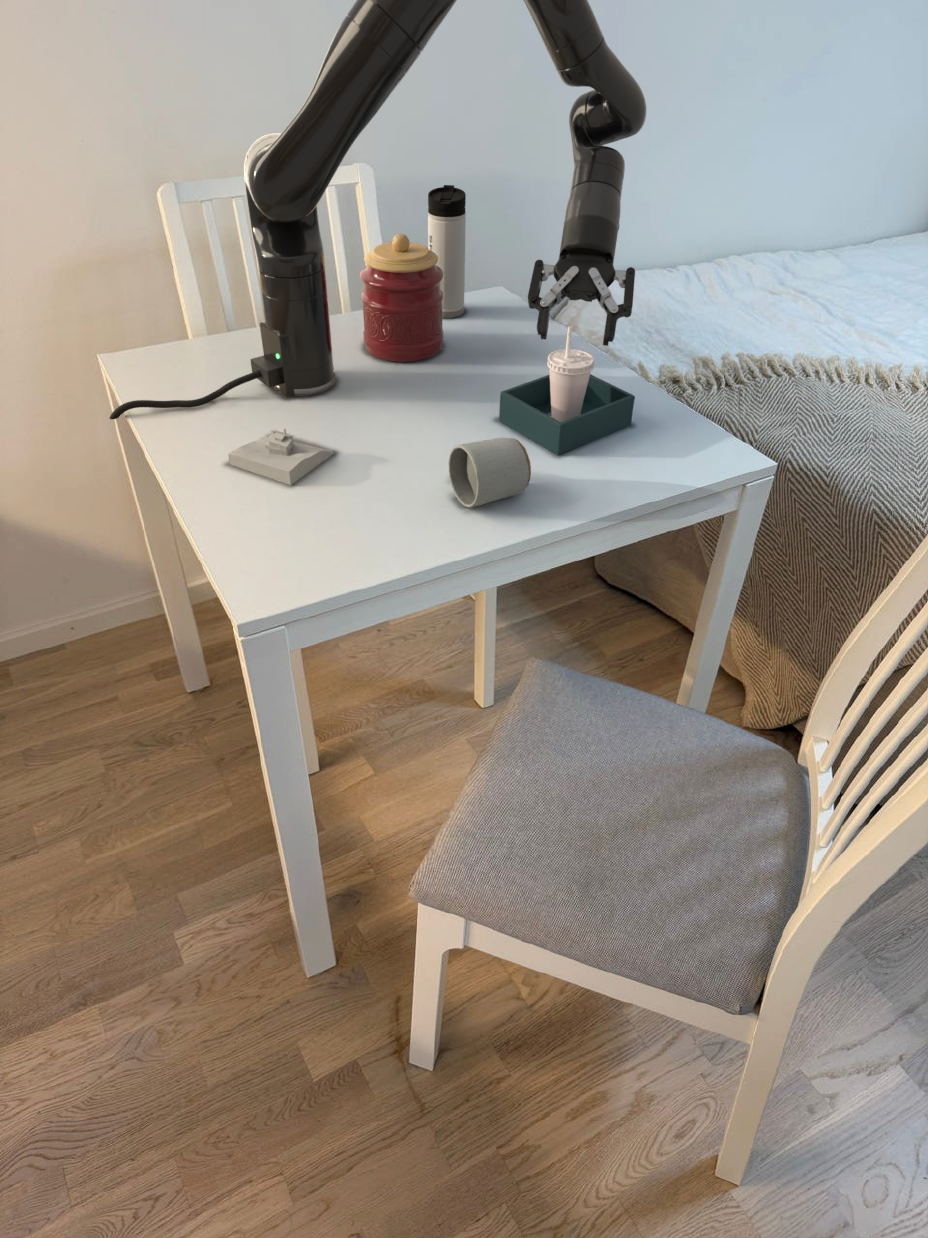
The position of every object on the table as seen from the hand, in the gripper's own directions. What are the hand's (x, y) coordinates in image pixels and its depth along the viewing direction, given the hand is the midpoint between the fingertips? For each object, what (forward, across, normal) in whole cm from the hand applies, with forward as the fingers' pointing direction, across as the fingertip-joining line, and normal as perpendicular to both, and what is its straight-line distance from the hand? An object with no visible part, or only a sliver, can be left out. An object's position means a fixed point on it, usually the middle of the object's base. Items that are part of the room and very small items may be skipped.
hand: (574, 340), depth 121 cm
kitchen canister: (-4, -29, +20) cm, 35 cm away
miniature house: (+23, -35, -7) cm, 43 cm away
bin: (+10, 0, +6) cm, 11 cm away
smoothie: (+10, 0, +6) cm, 12 cm away
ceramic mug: (+24, -8, -9) cm, 27 cm away
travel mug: (-16, -25, +32) cm, 44 cm away
